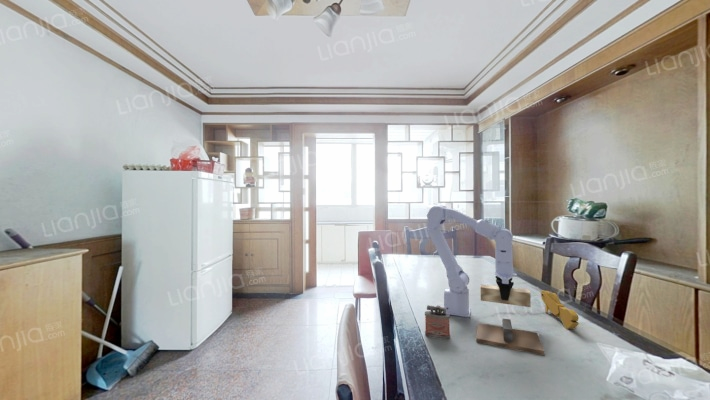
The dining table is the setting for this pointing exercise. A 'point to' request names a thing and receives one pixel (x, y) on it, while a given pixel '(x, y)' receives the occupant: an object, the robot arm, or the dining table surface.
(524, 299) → the pine batten
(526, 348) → the ridge stand
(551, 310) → the decorative fish
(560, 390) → the dining table surface
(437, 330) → the lighter
